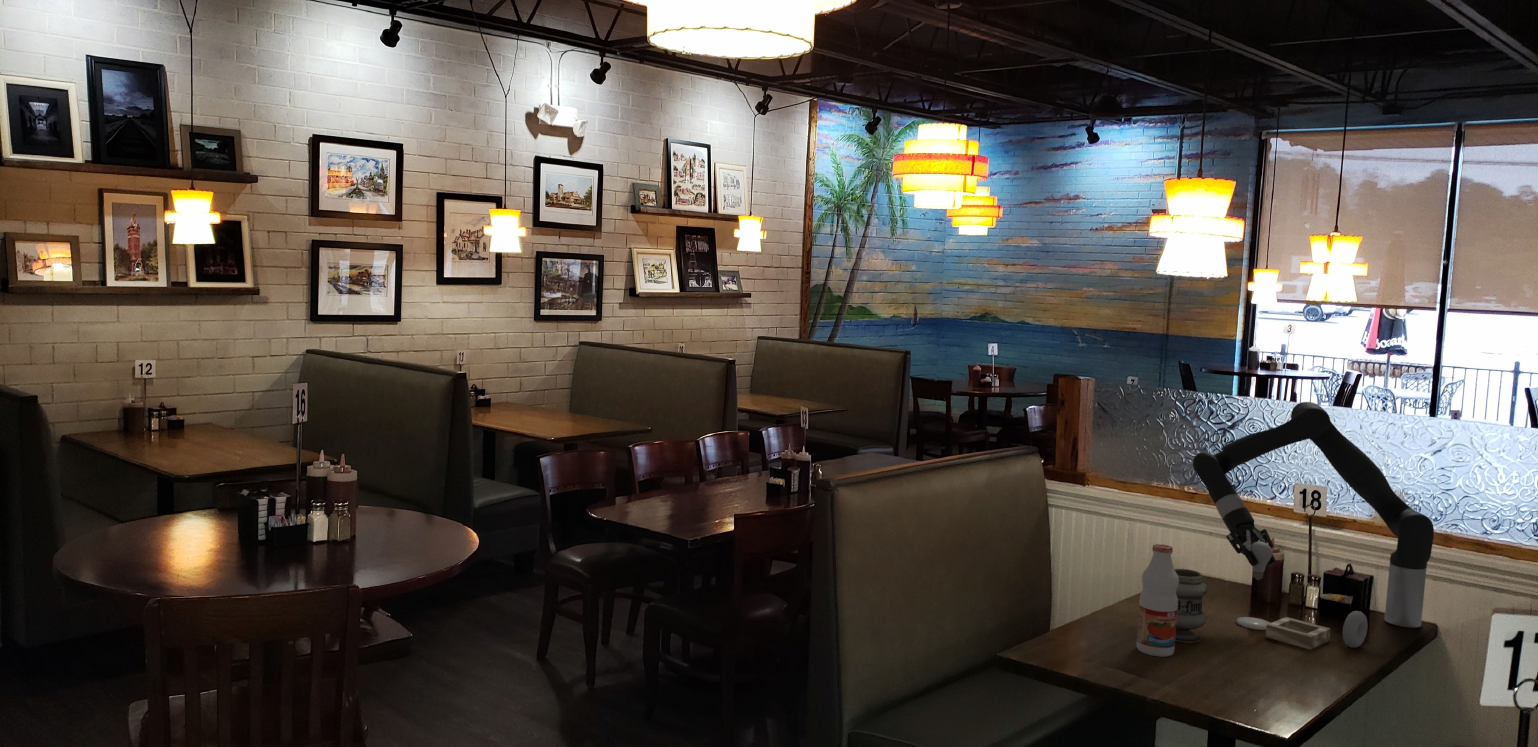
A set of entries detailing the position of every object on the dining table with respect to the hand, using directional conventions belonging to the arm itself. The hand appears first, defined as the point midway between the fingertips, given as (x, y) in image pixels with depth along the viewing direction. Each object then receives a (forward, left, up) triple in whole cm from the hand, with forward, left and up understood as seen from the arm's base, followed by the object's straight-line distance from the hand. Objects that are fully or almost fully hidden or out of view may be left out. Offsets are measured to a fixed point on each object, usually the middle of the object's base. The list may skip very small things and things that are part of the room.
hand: (1264, 563), depth 302 cm
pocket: (+1, +11, -18) cm, 22 cm away
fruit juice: (+44, -7, -18) cm, 49 cm away
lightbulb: (0, -2, -5) cm, 6 cm away
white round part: (-1, -2, -18) cm, 18 cm away
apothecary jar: (+27, -9, -18) cm, 34 cm away
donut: (-5, +23, -18) cm, 30 cm away
